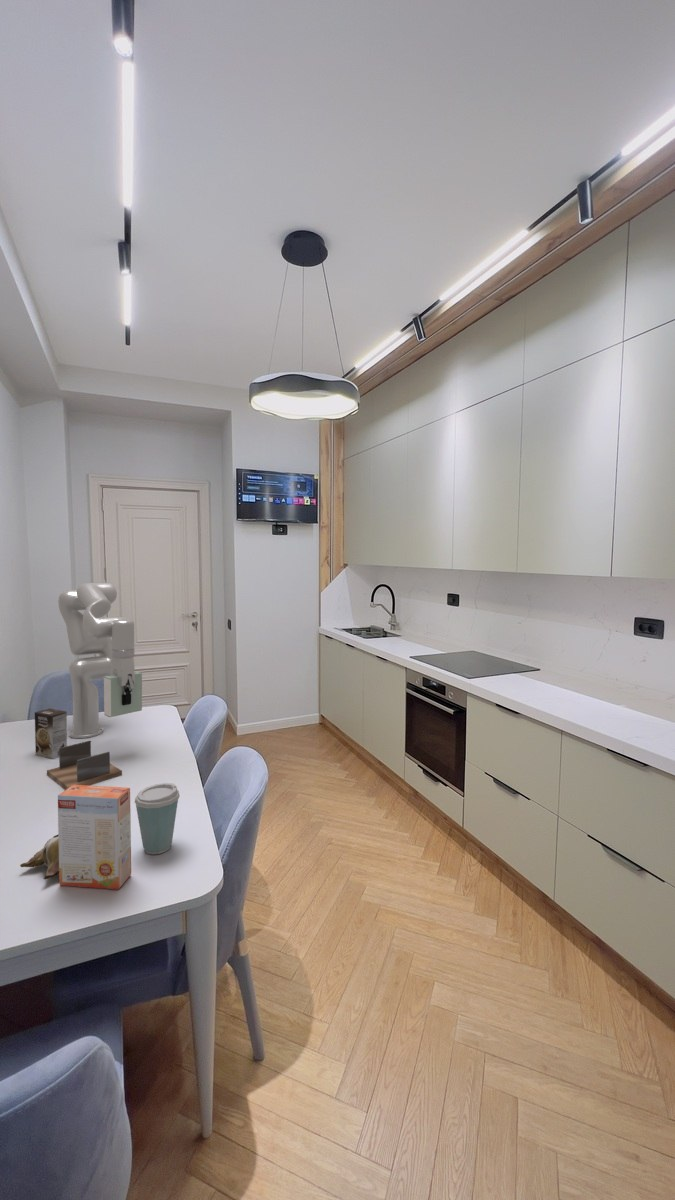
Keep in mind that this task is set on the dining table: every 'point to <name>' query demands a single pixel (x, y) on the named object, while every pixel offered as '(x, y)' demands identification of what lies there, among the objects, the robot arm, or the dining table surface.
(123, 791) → the cracker box
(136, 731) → the dining table surface
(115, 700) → the book
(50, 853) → the ceramic sculpture
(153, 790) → the disposable coffee cup
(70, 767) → the bookshelf board
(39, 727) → the coffee box
